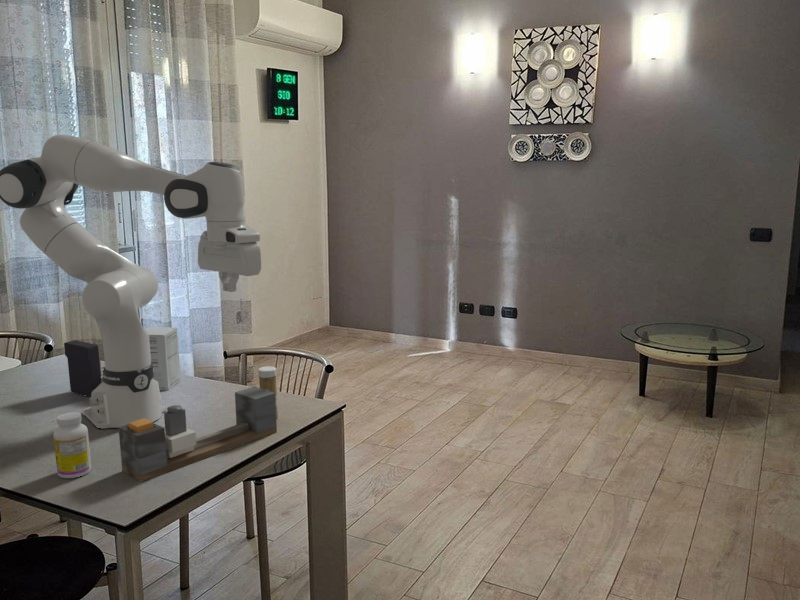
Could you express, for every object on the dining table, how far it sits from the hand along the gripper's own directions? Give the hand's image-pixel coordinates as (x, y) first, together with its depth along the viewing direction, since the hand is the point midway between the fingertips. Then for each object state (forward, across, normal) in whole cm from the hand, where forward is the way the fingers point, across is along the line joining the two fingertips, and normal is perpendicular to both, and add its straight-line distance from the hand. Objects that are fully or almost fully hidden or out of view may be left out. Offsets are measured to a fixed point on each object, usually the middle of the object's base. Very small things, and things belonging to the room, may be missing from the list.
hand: (229, 291), depth 168 cm
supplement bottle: (+35, -7, -37) cm, 52 cm away
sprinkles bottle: (+35, -1, +11) cm, 37 cm away
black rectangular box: (+35, -57, -10) cm, 68 cm away
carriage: (+33, +4, -19) cm, 38 cm away
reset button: (+29, +4, -27) cm, 40 cm away
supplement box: (+35, -48, +8) cm, 60 cm away
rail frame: (+35, +4, -12) cm, 37 cm away
